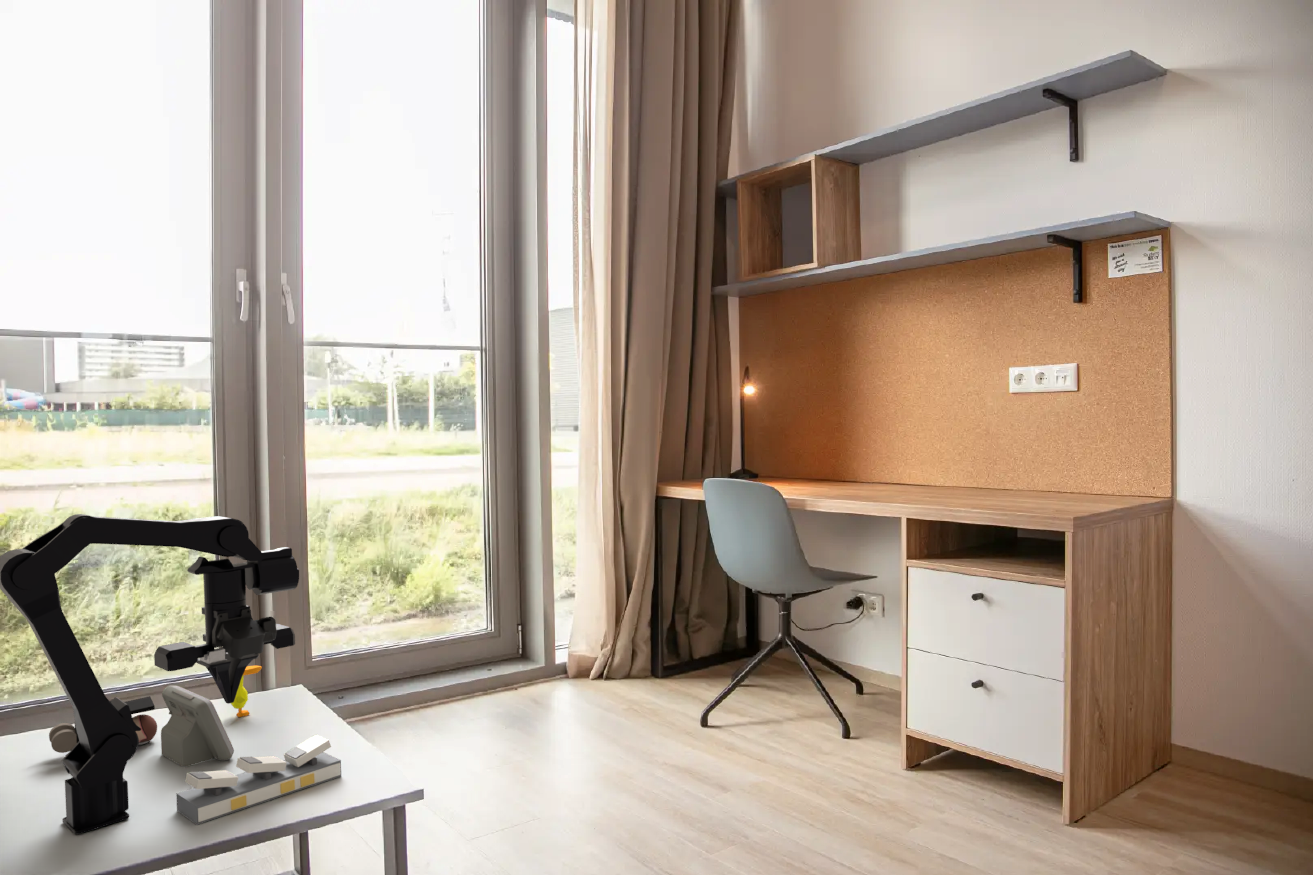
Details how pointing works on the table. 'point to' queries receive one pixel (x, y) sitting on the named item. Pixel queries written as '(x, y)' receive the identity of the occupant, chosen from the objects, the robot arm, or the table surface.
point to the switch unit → (256, 789)
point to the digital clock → (193, 729)
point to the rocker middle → (261, 764)
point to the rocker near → (211, 779)
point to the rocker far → (307, 750)
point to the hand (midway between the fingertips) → (229, 702)
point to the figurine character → (67, 737)
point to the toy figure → (244, 692)
